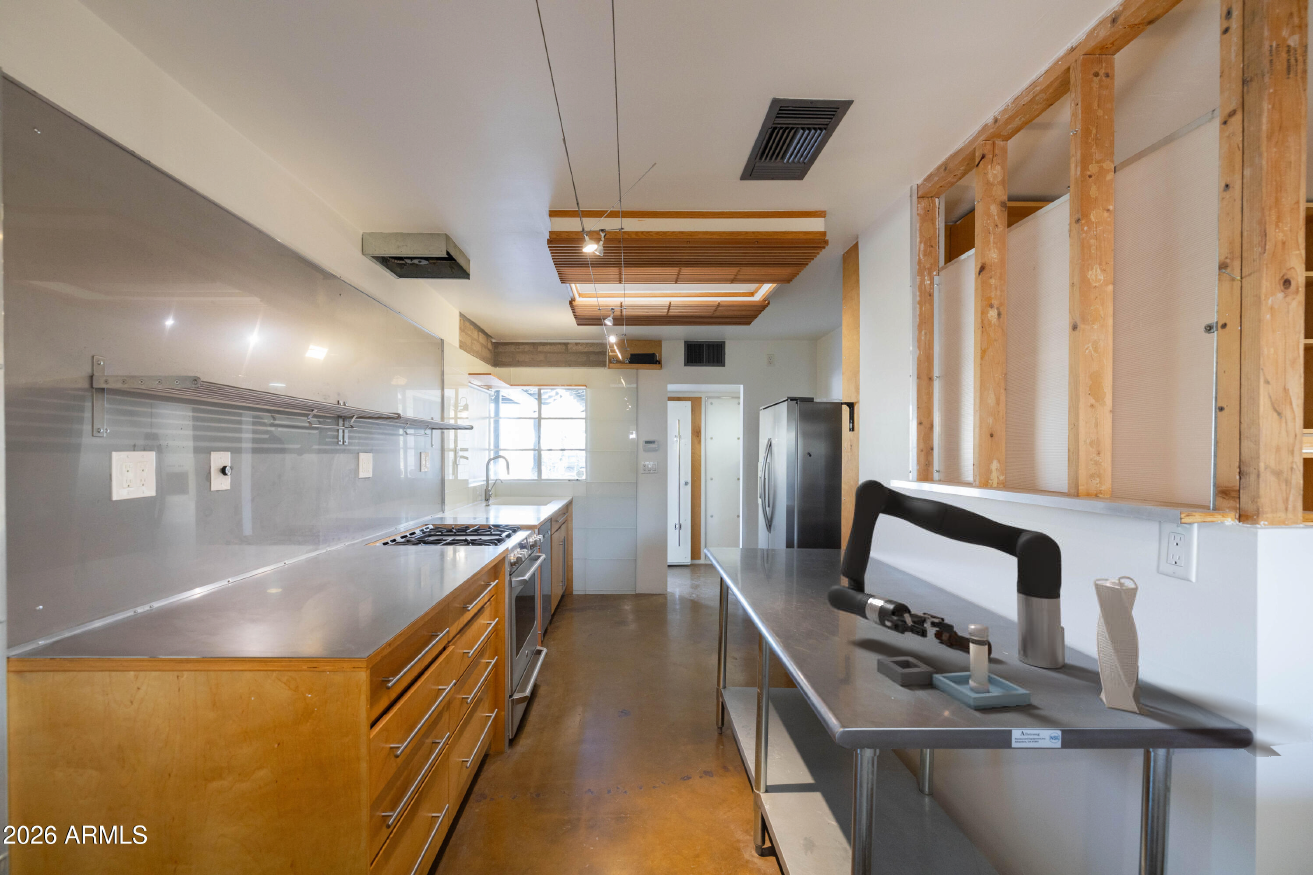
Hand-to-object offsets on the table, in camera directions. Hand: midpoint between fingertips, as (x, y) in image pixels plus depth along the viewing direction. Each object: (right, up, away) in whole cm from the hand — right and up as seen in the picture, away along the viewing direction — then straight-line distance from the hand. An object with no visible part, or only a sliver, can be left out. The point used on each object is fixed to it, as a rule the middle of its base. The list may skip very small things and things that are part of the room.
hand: (939, 631), depth 128 cm
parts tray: (+4, -10, -10) cm, 15 cm away
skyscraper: (+31, -11, -14) cm, 36 cm away
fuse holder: (-8, -11, -1) cm, 14 cm away
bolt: (+16, -12, +19) cm, 28 cm away
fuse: (+4, -9, -10) cm, 14 cm away
